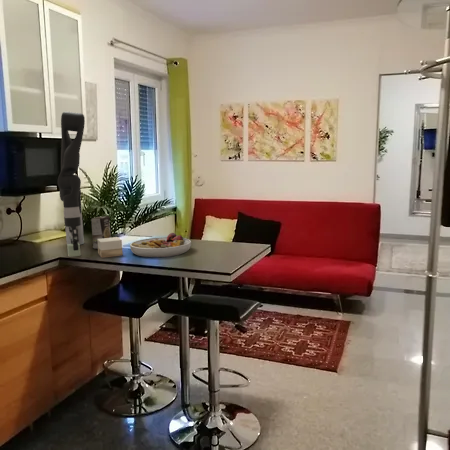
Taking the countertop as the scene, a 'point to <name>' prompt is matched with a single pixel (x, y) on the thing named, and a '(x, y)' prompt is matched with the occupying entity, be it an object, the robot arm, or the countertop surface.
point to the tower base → (110, 252)
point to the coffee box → (100, 229)
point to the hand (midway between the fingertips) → (74, 248)
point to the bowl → (161, 246)
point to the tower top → (109, 243)
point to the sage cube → (71, 252)
